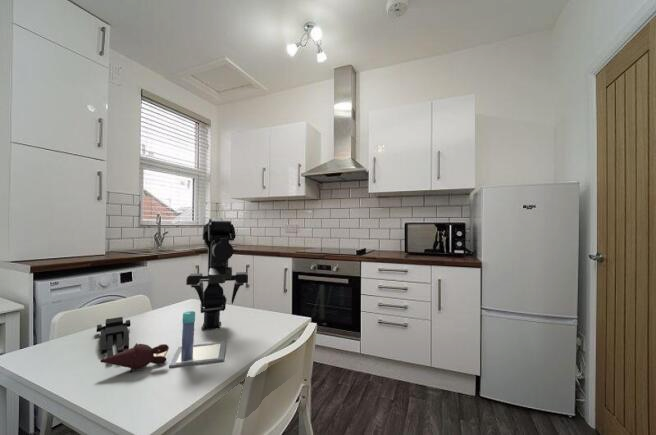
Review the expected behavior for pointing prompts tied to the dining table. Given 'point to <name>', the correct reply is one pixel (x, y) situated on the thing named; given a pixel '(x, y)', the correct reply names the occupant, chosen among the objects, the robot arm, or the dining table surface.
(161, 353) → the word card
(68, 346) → the dining table surface
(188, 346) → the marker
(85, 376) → the dining table surface
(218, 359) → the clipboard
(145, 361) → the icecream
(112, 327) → the toy
